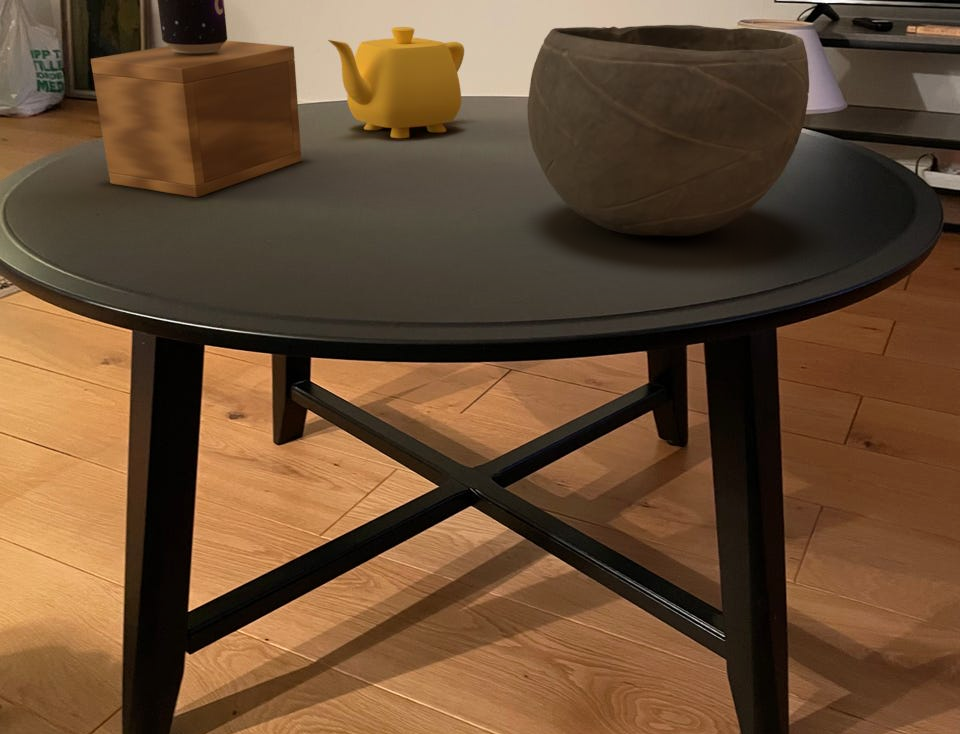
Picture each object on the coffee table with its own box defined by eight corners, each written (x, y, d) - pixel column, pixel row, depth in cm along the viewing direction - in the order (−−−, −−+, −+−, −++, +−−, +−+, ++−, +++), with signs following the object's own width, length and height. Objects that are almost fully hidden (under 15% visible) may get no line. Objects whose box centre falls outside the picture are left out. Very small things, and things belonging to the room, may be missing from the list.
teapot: (361, 149, 108) (357, 39, 102) (306, 131, 115) (299, 28, 110) (492, 128, 118) (494, 27, 113) (433, 113, 125) (432, 18, 120)
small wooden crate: (110, 183, 94) (90, 58, 88) (221, 149, 106) (209, 38, 101) (197, 197, 90) (181, 68, 85) (301, 161, 103) (294, 46, 97)
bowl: (835, 232, 84) (872, 35, 77) (670, 287, 71) (696, 58, 64) (638, 182, 97) (654, 10, 90) (472, 221, 85) (474, 25, 78)
